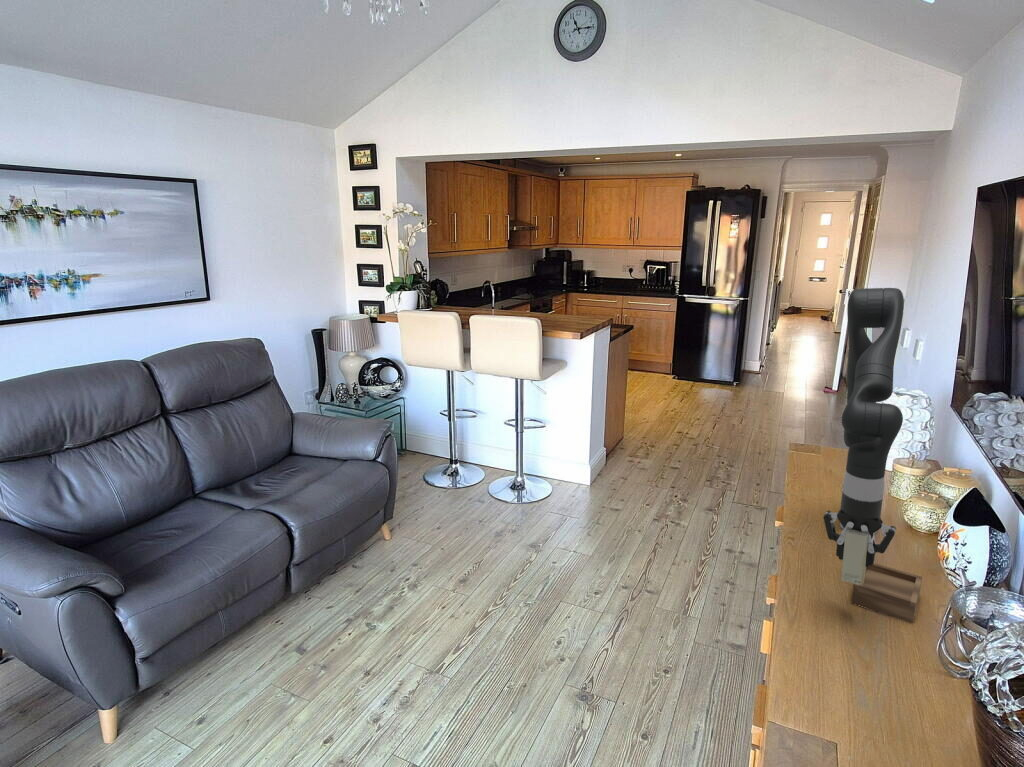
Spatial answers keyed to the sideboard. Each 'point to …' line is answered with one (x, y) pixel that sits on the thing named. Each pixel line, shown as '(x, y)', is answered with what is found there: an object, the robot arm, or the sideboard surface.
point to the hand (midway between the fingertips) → (854, 561)
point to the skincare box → (854, 557)
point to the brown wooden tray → (888, 592)
